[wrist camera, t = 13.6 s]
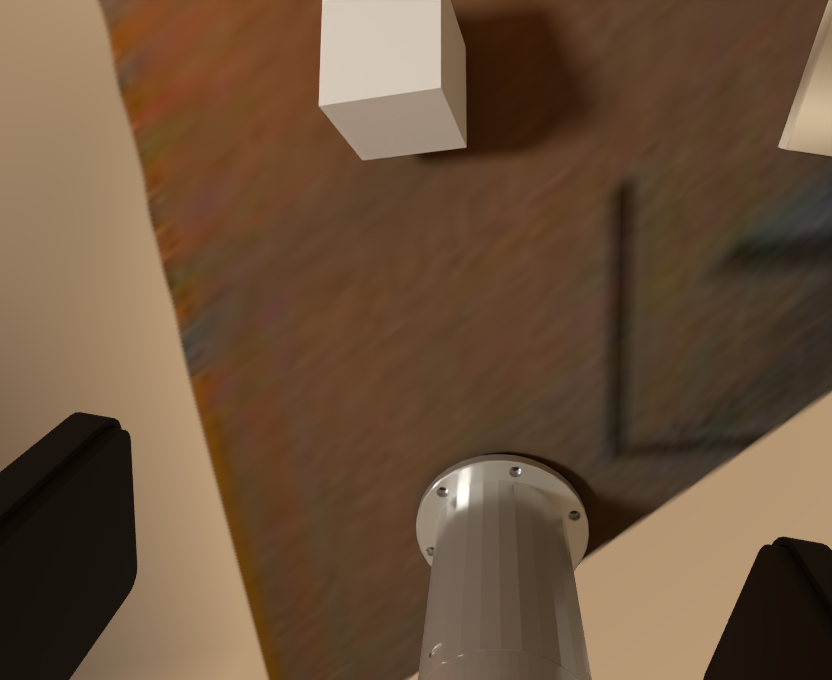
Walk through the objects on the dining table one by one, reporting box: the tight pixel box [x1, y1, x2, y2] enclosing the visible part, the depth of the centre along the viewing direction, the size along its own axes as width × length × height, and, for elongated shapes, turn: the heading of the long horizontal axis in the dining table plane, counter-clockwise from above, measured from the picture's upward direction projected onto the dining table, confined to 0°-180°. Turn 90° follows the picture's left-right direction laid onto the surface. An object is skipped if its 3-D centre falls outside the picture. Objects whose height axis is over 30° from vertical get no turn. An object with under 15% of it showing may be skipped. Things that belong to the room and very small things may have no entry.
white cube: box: [319, 0, 467, 160], centre depth 33 cm, size 6×6×6 cm
